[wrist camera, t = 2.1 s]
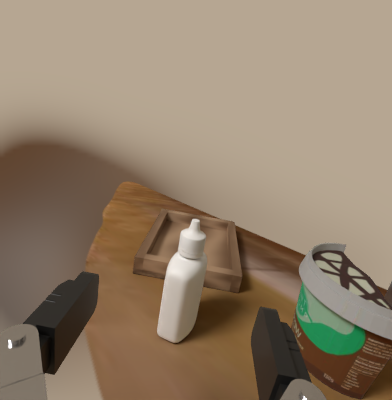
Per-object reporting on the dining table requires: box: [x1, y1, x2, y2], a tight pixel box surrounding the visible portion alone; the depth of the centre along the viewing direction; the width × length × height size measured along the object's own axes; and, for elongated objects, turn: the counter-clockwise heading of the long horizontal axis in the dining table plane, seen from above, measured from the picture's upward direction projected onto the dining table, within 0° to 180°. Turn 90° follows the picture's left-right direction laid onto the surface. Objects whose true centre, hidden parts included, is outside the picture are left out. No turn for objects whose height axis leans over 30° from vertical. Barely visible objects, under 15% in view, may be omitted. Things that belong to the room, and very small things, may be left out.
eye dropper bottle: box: [157, 219, 207, 343], centre depth 26 cm, size 4×6×12 cm
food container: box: [291, 243, 392, 399], centre depth 26 cm, size 12×6×10 cm, turn 176°
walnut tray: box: [133, 209, 242, 293], centre depth 43 cm, size 14×18×2 cm
